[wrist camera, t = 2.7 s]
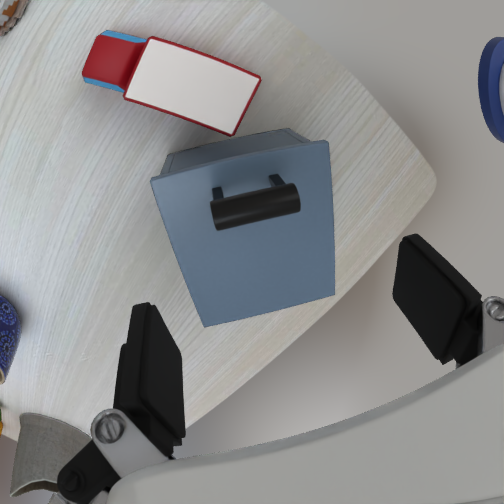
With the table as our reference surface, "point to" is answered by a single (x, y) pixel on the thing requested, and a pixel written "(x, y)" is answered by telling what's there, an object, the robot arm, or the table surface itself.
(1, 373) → the planter
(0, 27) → the candy apple
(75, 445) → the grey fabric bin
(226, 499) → the robot arm
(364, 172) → the table surface
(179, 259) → the lid
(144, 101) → the toy truck
